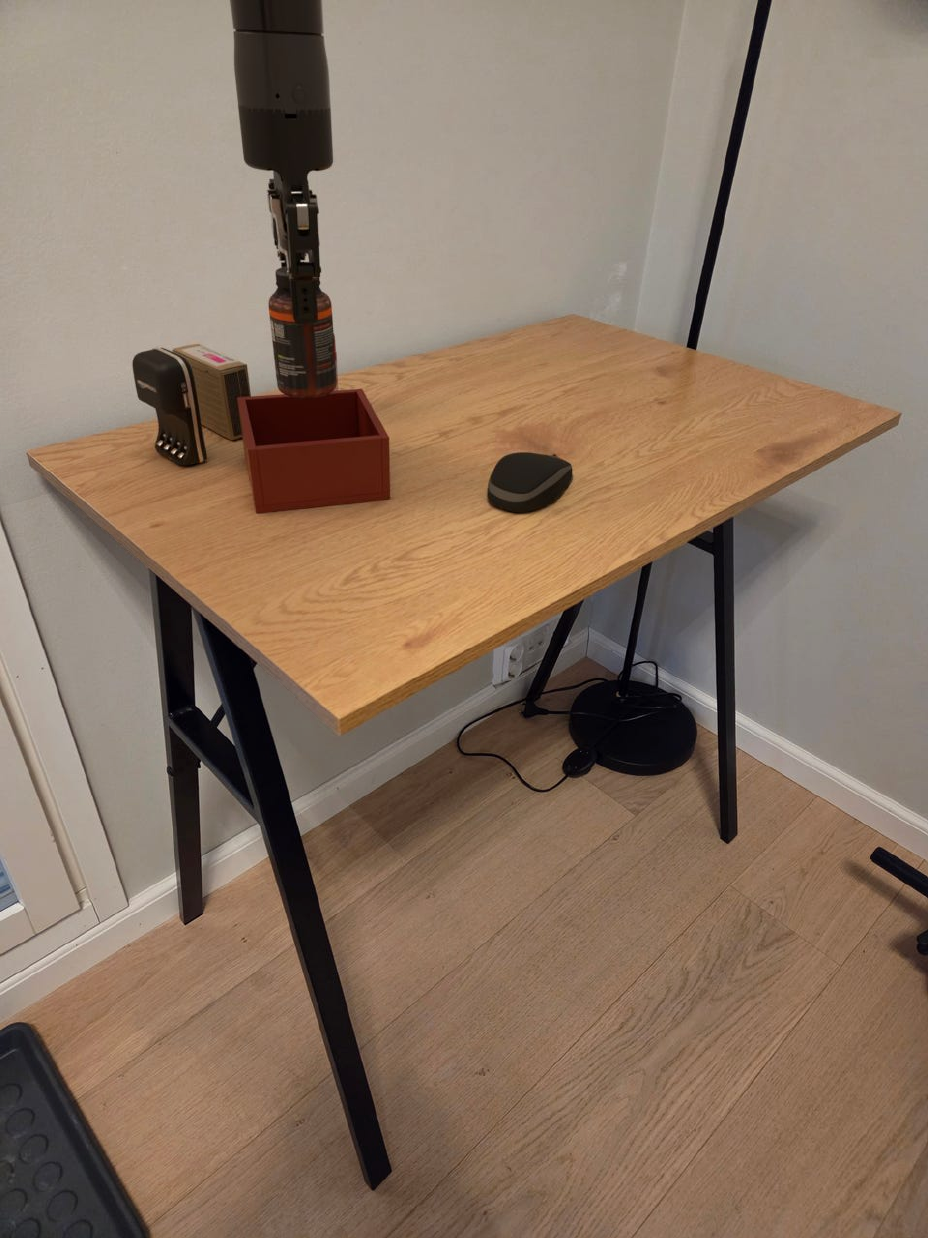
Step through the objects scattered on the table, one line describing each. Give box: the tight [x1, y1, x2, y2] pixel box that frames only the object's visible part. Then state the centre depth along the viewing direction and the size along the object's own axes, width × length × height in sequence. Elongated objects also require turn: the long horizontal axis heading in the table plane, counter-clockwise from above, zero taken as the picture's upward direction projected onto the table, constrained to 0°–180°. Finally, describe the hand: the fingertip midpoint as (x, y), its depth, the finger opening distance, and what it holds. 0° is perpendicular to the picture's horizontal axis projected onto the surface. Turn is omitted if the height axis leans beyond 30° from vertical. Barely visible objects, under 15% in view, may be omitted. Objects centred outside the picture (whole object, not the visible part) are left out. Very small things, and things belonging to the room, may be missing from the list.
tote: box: [237, 388, 391, 514], centre depth 83 cm, size 14×14×7 cm
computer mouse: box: [486, 451, 573, 513], centre depth 84 cm, size 7×12×4 cm, turn 146°
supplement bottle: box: [268, 266, 337, 398], centre depth 76 cm, size 6×6×11 cm
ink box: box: [172, 343, 252, 441], centre depth 92 cm, size 10×4×8 cm, turn 46°
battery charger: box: [131, 347, 208, 467], centre depth 84 cm, size 7×4×11 cm, turn 47°
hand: (300, 311), depth 75 cm, fingers closed on supplement bottle, 6 cm apart
